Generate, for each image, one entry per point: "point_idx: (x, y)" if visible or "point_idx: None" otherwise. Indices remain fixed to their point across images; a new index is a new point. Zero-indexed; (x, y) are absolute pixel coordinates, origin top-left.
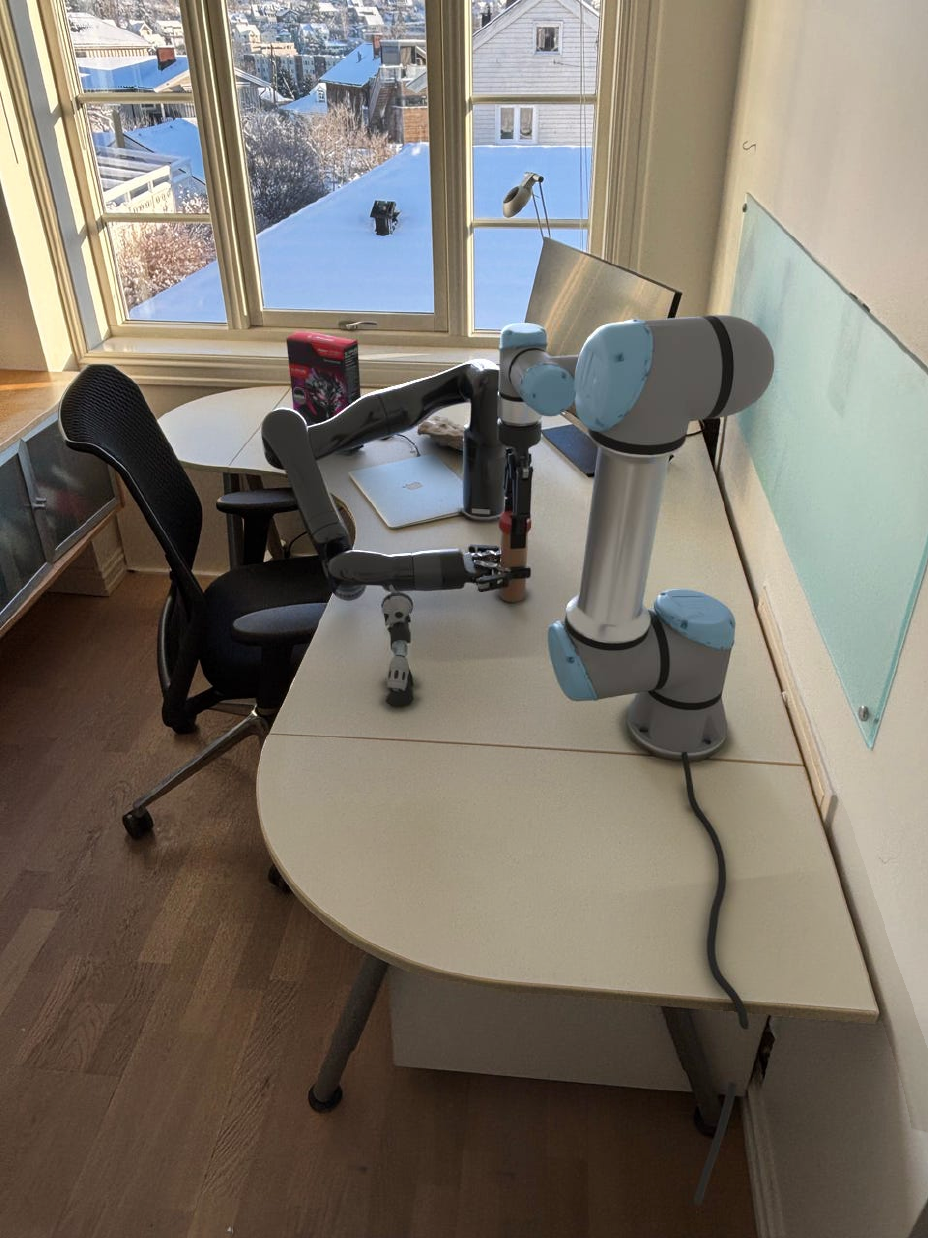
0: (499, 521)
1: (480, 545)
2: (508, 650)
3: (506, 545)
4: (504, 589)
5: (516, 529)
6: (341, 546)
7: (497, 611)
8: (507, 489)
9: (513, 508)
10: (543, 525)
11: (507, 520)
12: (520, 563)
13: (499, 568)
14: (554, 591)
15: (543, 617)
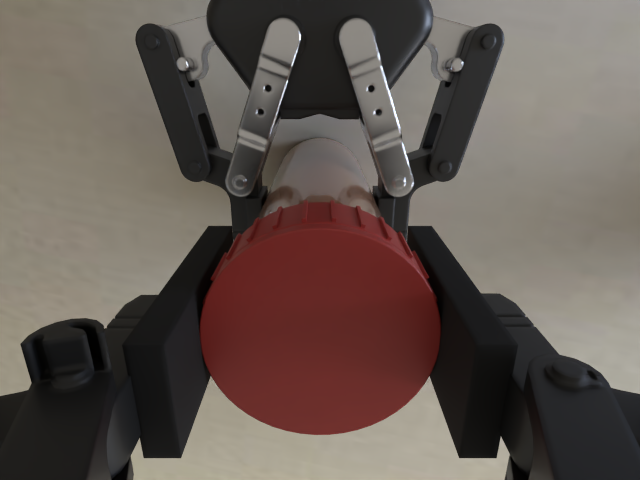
0: (331, 216)
1: (478, 91)
2: (6, 110)
3: (266, 210)
4: (288, 156)
5: (127, 317)
6: None
7: (228, 115)
8: (543, 452)
9: (69, 420)
10: None
11: (275, 279)
12: None
13: (249, 147)
14: None
15: (188, 247)
